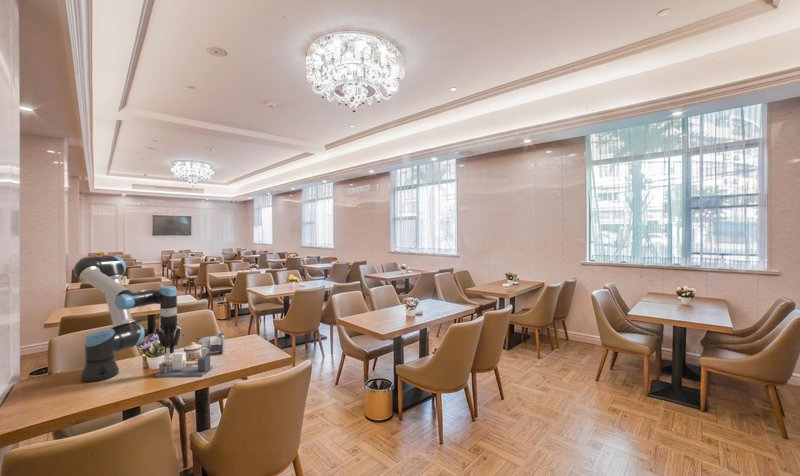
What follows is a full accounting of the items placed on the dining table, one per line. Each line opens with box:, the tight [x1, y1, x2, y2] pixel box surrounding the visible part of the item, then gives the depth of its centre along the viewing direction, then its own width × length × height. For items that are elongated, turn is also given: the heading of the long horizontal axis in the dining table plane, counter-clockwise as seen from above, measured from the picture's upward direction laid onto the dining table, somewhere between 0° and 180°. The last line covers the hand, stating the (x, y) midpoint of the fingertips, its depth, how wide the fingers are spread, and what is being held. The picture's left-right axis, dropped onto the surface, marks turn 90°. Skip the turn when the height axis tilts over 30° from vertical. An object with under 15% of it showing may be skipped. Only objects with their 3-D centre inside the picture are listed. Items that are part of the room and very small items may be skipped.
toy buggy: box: [195, 332, 226, 355], centre depth 215 cm, size 18×10×12 cm, turn 129°
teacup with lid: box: [183, 341, 208, 362], centre depth 205 cm, size 12×9×12 cm
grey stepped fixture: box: [155, 355, 214, 378], centre depth 189 cm, size 24×11×8 cm, turn 92°
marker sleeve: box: [171, 351, 187, 369], centre depth 189 cm, size 5×4×8 cm
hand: (169, 359), depth 189 cm, fingers closed
